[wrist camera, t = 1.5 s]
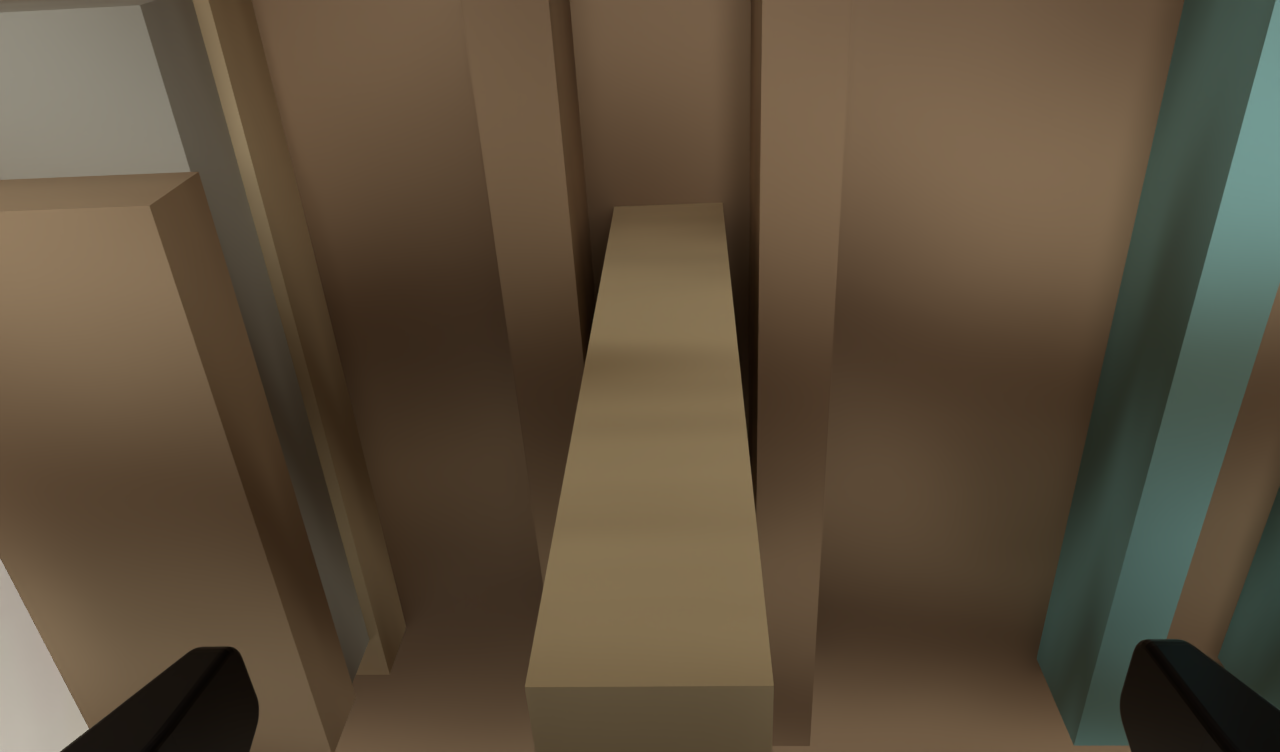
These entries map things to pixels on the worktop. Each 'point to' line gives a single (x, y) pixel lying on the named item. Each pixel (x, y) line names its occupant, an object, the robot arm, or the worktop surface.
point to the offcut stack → (175, 372)
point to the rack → (823, 333)
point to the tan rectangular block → (656, 515)
